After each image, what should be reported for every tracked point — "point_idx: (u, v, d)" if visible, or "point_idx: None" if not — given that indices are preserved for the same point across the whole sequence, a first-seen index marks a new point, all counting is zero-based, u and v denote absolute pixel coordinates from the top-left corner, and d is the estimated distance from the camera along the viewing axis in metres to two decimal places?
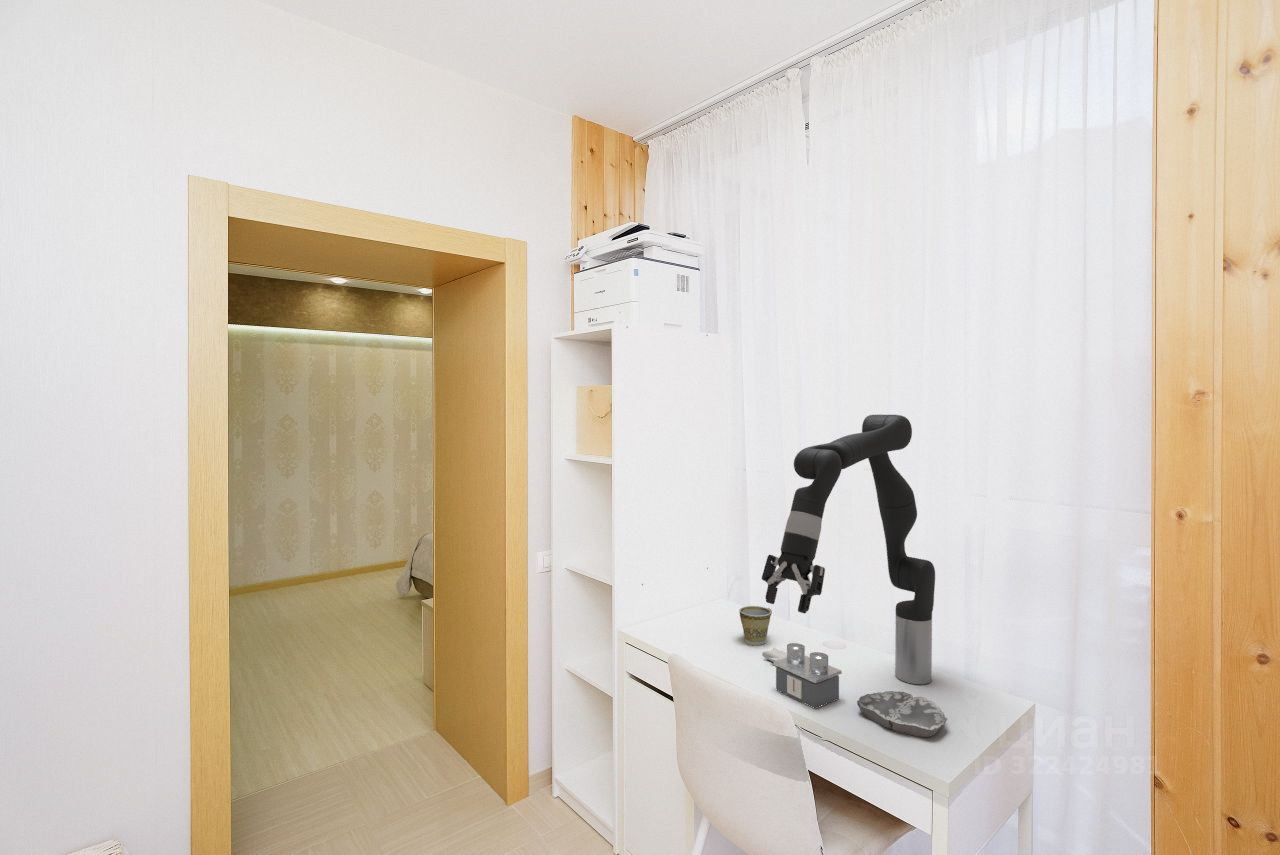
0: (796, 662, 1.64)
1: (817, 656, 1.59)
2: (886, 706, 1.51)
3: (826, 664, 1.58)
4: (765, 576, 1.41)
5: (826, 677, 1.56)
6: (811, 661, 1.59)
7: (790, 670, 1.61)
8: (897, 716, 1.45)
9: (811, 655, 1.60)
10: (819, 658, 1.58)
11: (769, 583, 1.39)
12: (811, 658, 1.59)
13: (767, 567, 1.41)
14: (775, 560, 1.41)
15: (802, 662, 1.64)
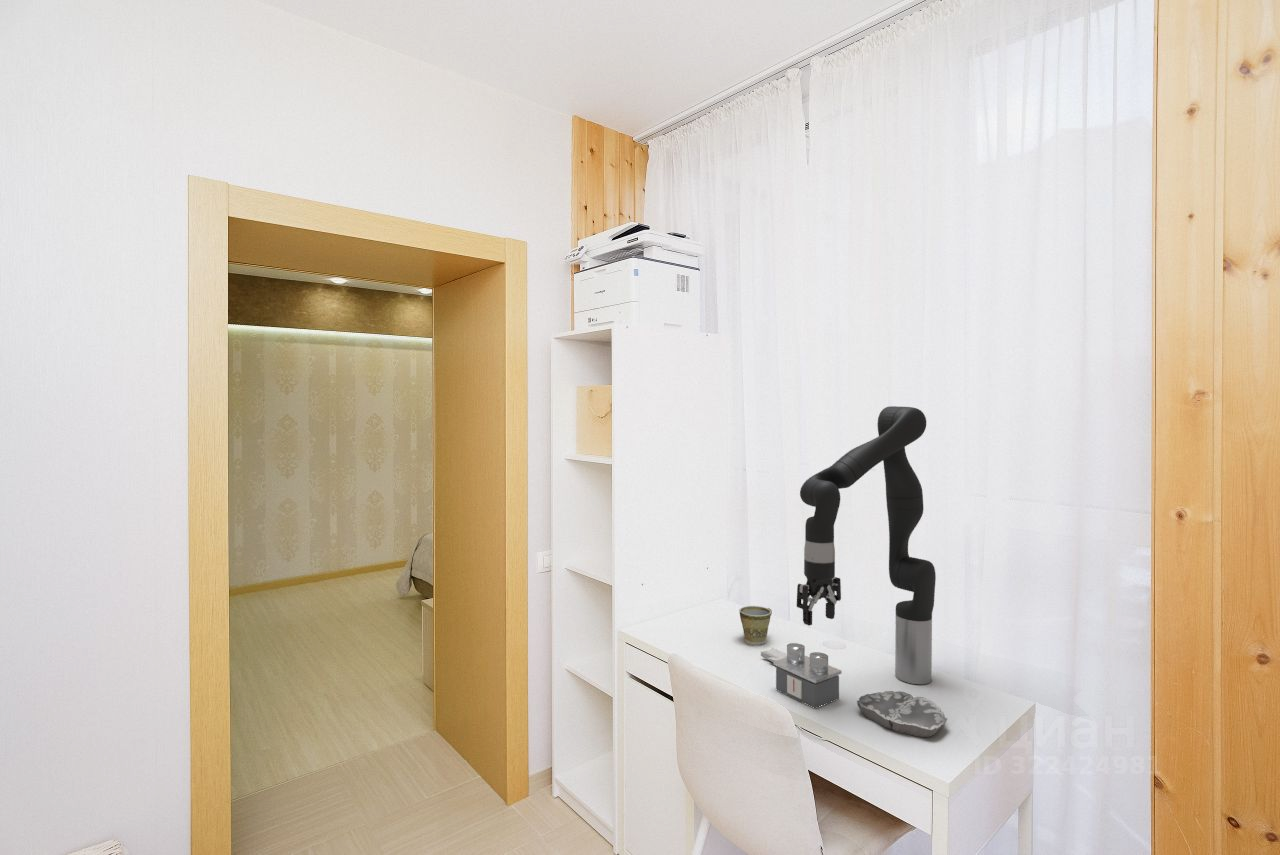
0: (796, 662, 1.64)
1: (817, 656, 1.59)
2: (886, 706, 1.51)
3: (826, 664, 1.58)
4: None
5: (826, 677, 1.56)
6: (811, 661, 1.59)
7: (790, 670, 1.61)
8: (897, 716, 1.45)
9: (811, 655, 1.60)
10: (819, 658, 1.58)
11: None
12: (811, 658, 1.59)
13: None
14: None
15: (802, 662, 1.64)
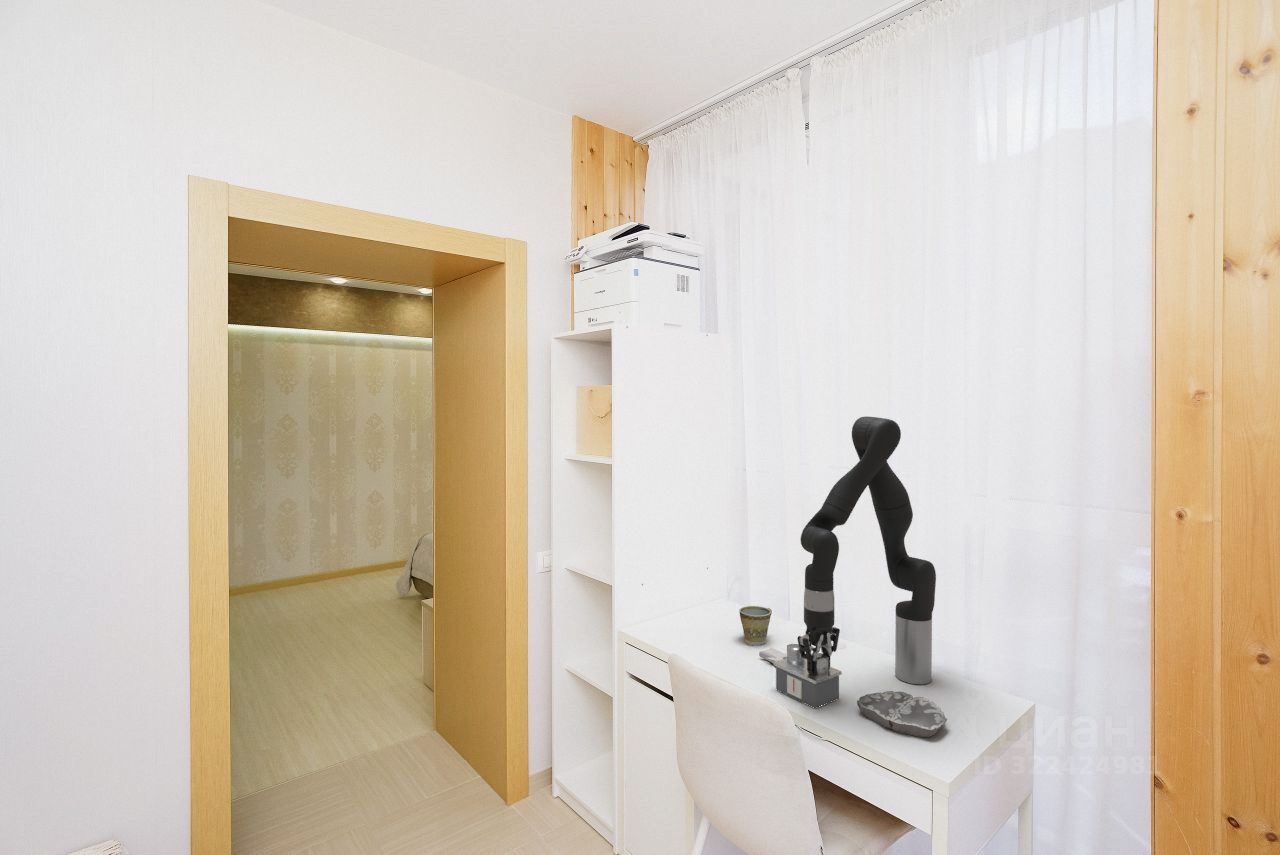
0: (796, 663, 1.64)
1: (817, 656, 1.59)
2: (886, 706, 1.51)
3: (826, 665, 1.58)
4: None
5: (826, 678, 1.56)
6: None
7: (790, 671, 1.61)
8: (897, 716, 1.45)
9: None
10: (819, 659, 1.58)
11: None
12: None
13: None
14: None
15: (802, 663, 1.64)
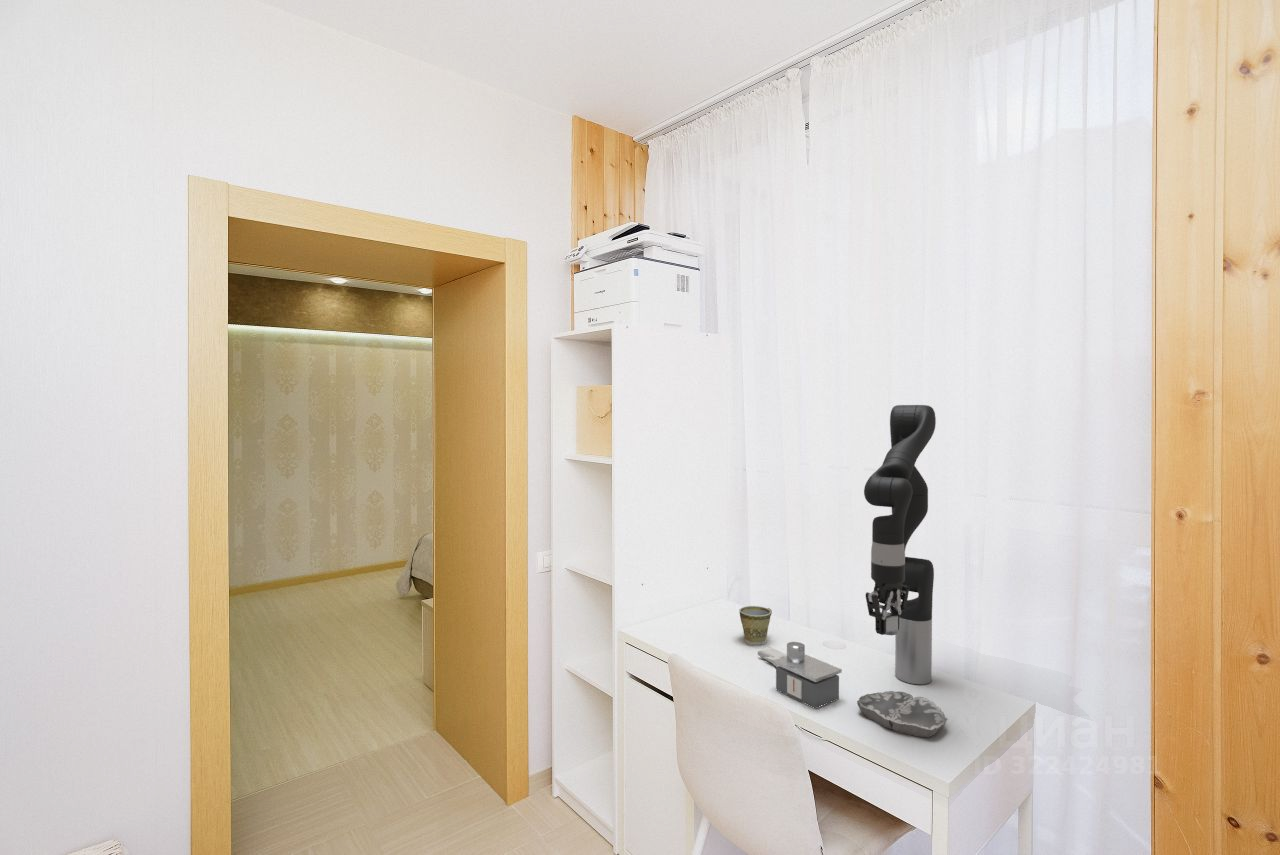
0: (796, 661, 1.64)
1: (886, 615, 1.49)
2: (886, 706, 1.51)
3: (896, 624, 1.47)
4: None
5: (826, 676, 1.56)
6: None
7: (790, 669, 1.61)
8: (897, 716, 1.45)
9: None
10: (889, 617, 1.47)
11: None
12: None
13: None
14: None
15: (802, 661, 1.64)
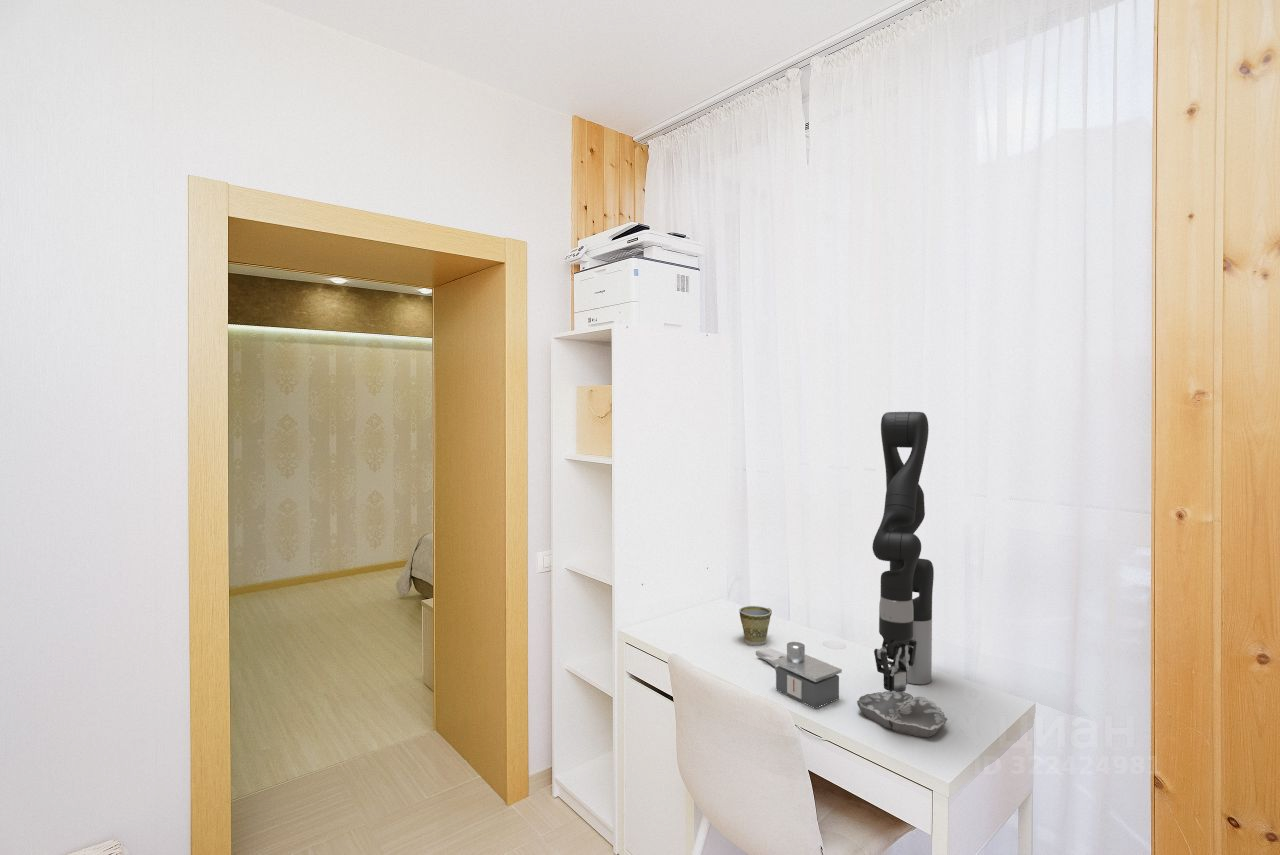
0: (796, 661, 1.64)
1: (894, 671, 1.48)
2: (886, 706, 1.51)
3: (904, 680, 1.46)
4: None
5: (826, 676, 1.56)
6: None
7: (790, 669, 1.61)
8: (897, 716, 1.45)
9: None
10: (897, 674, 1.46)
11: None
12: None
13: None
14: None
15: (802, 661, 1.64)
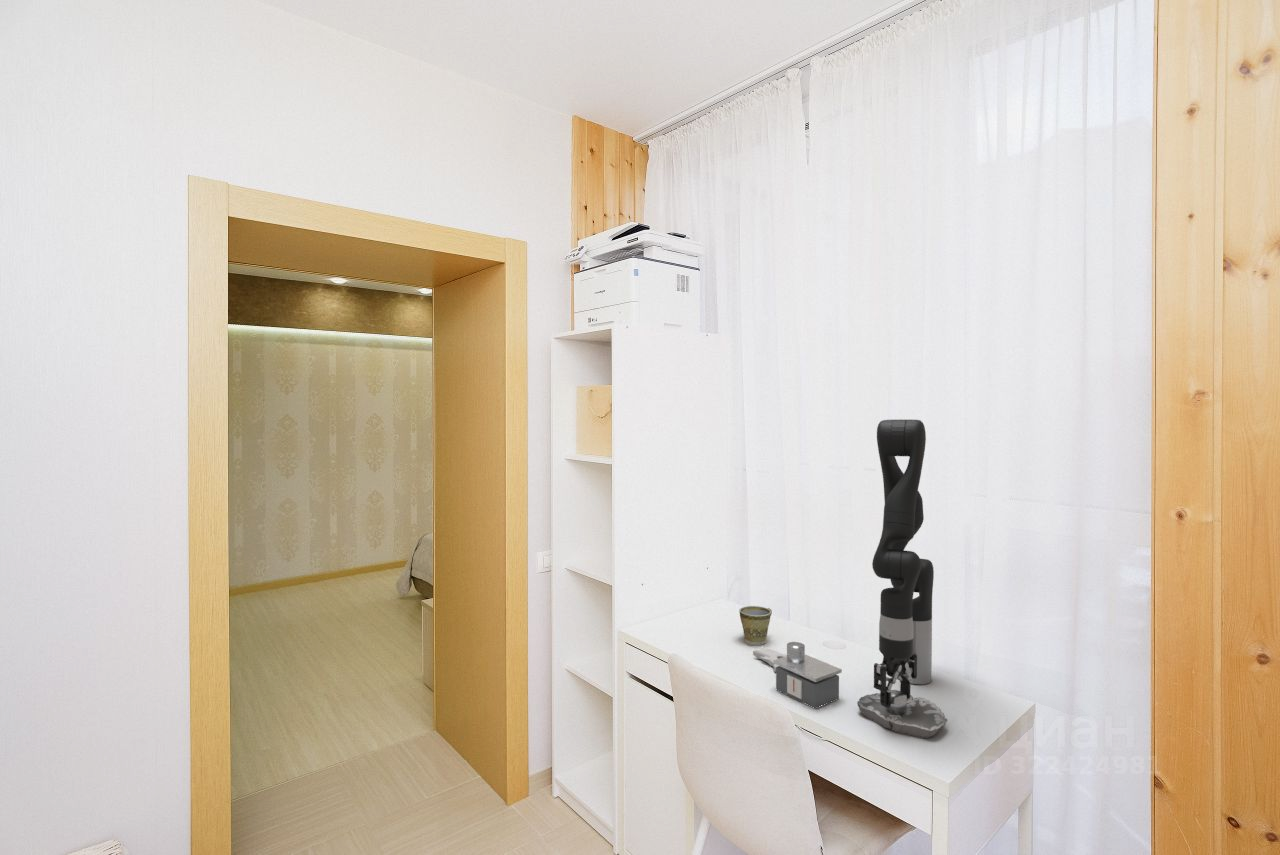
0: (796, 661, 1.64)
1: (894, 694, 1.48)
2: None
3: (905, 703, 1.47)
4: None
5: (826, 676, 1.56)
6: None
7: (790, 669, 1.61)
8: (897, 717, 1.45)
9: None
10: (898, 697, 1.47)
11: None
12: None
13: None
14: None
15: (802, 661, 1.64)
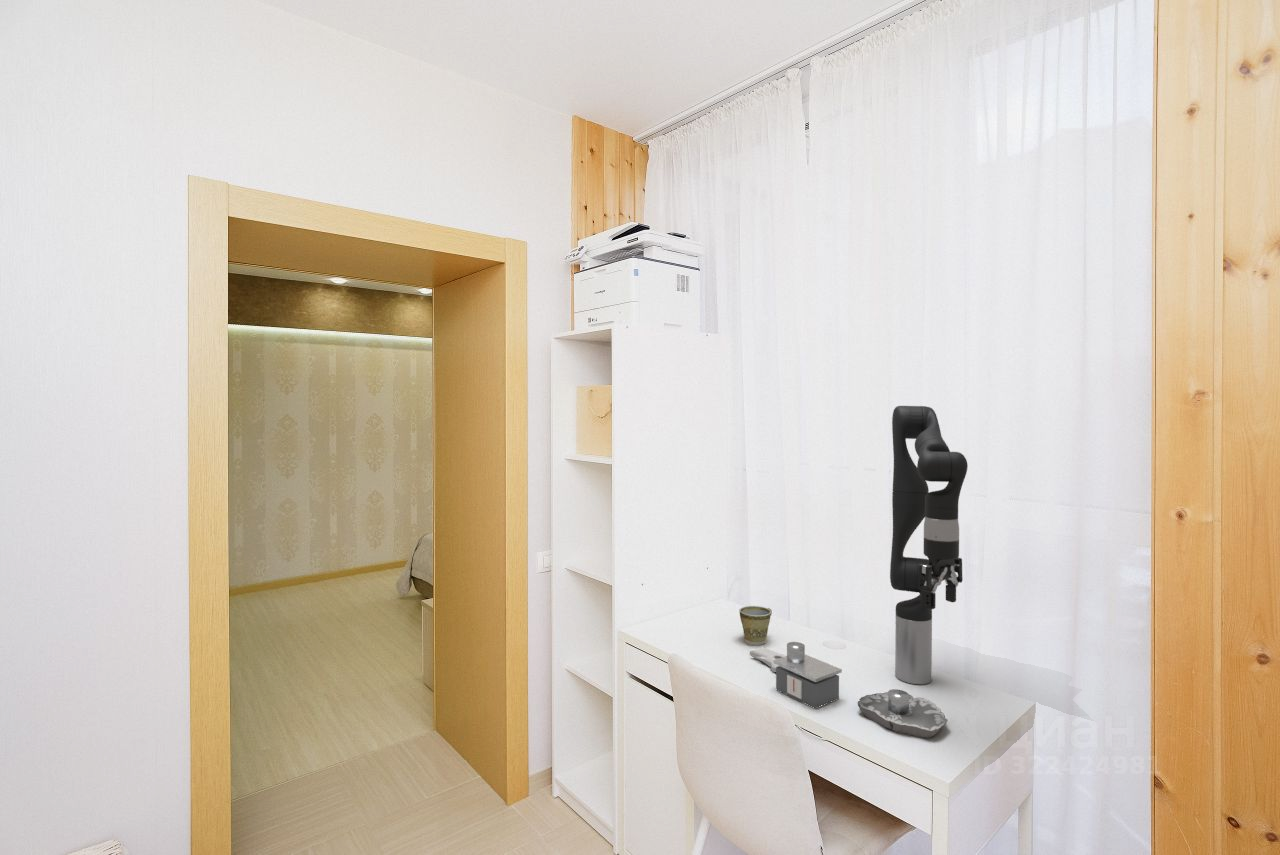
0: (796, 661, 1.64)
1: (897, 694, 1.49)
2: (886, 706, 1.51)
3: (907, 703, 1.47)
4: None
5: (826, 676, 1.56)
6: (891, 700, 1.48)
7: (790, 669, 1.61)
8: (897, 717, 1.46)
9: (890, 693, 1.49)
10: (900, 697, 1.47)
11: None
12: (891, 696, 1.48)
13: None
14: None
15: (802, 661, 1.64)
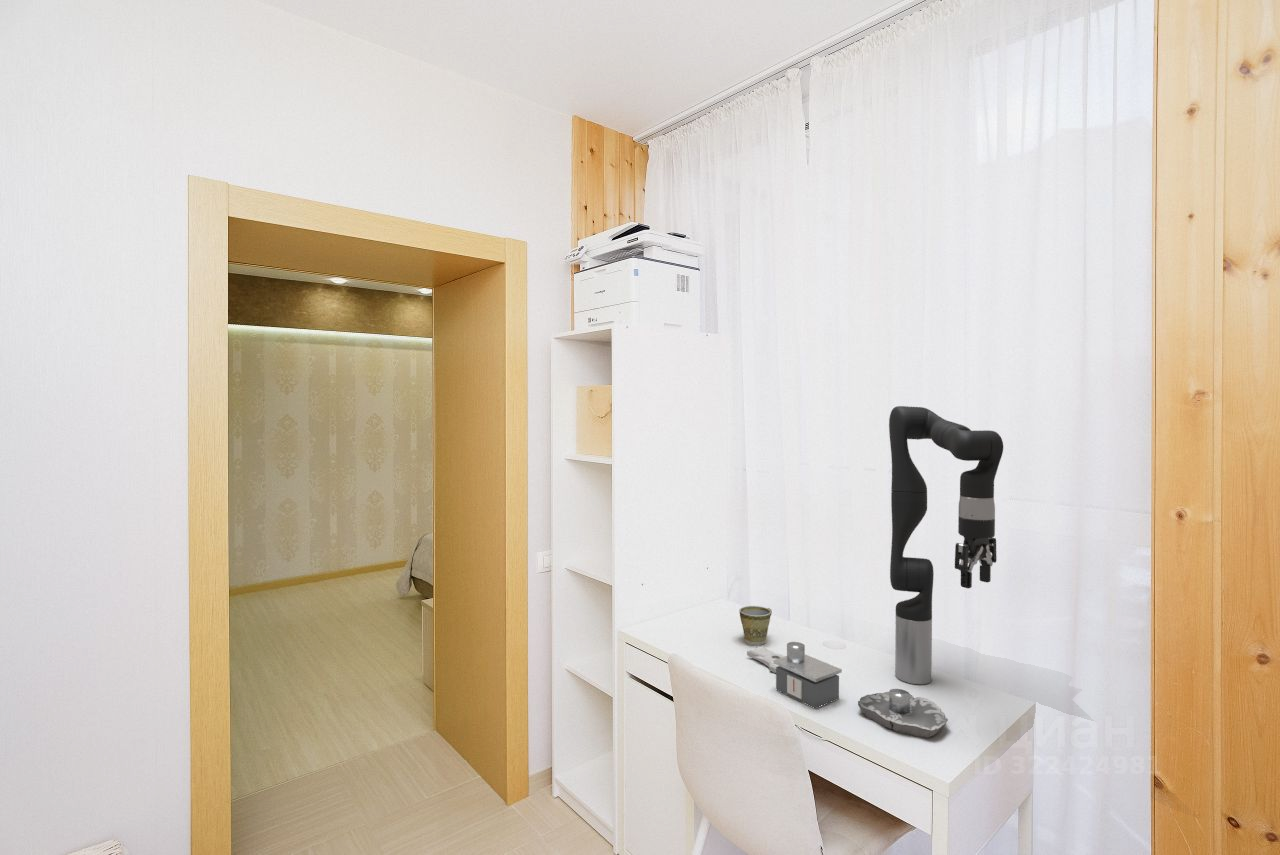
0: (796, 661, 1.64)
1: (898, 693, 1.49)
2: (887, 706, 1.51)
3: (908, 702, 1.47)
4: None
5: (826, 676, 1.56)
6: (892, 699, 1.48)
7: (790, 669, 1.61)
8: (898, 717, 1.46)
9: (891, 693, 1.49)
10: (901, 696, 1.47)
11: None
12: (892, 696, 1.48)
13: None
14: None
15: (802, 661, 1.64)
